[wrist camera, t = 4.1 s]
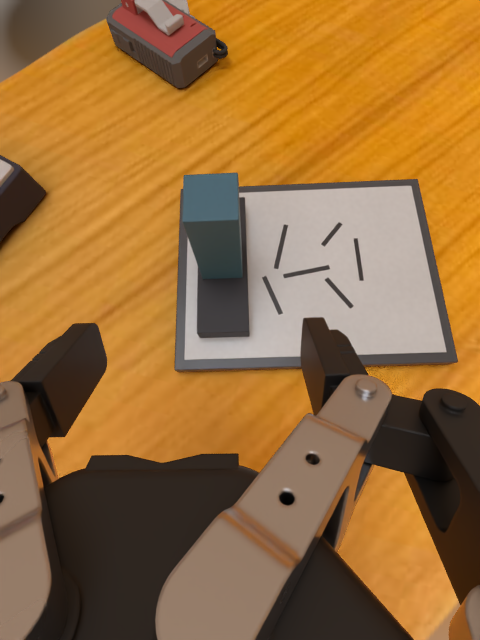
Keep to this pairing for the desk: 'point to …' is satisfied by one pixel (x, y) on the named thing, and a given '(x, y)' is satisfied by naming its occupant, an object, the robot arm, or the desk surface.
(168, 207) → the desk surface
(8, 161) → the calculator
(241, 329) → the eraser
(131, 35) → the walkie-talkie
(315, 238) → the whiteboard
